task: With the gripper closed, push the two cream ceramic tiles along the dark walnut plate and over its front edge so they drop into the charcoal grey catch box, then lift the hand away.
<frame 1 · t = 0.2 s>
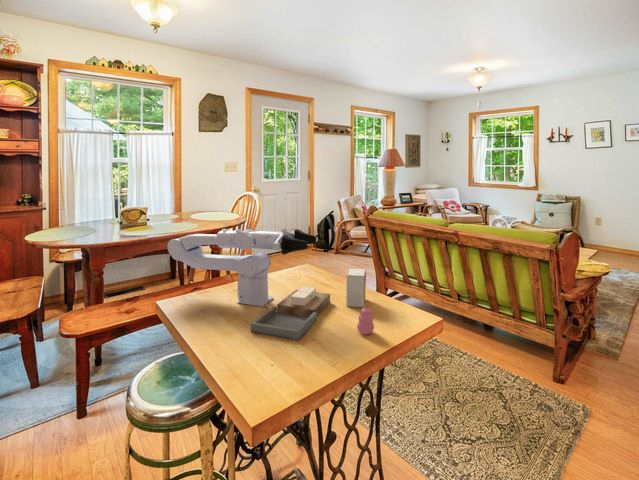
hand: (311, 242, 110), 21 cm above the table, tool horizontal, fingers open, 7 cm apart
front tile: (300, 302, 111), point 3 cm above the table, touching walnut plate
catch box: (285, 326, 102), on the table
small box: (356, 303, 119), on the table
walnut plate: (304, 308, 115), on the table
rear tile: (306, 297, 116), point 3 cm above the table, touching walnut plate
dog chew toy: (365, 333, 98), on the table
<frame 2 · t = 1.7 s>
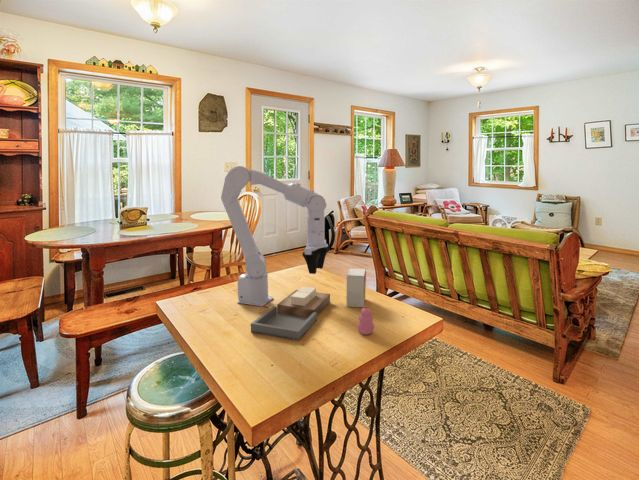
hand: (316, 270, 122), 9 cm above the table, tool pointing down, fingers open, 6 cm apart
nothing on the table moved.
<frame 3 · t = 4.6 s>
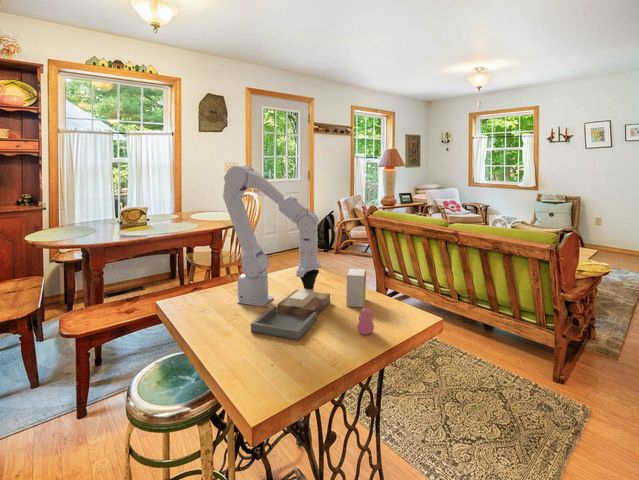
hand: (308, 292, 117), 4 cm above the table, tool pointing down, fingers closed
front tile: (299, 303, 110), point 3 cm above the table, touching rear tile
rear tile: (305, 298, 114), point 3 cm above the table, touching front tile, gripper
everything else where it was.
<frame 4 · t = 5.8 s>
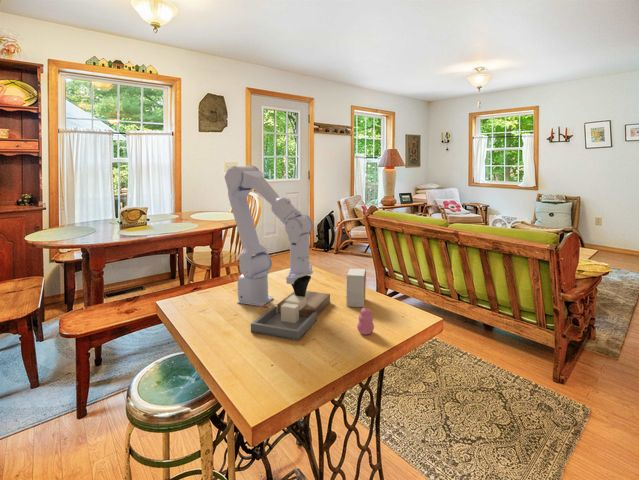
hand: (300, 299, 111), 4 cm above the table, tool pointing down, fingers closed
front tile: (291, 311, 105), point 3 cm above the table, tilted 90°, touching catch box
rear tile: (296, 306, 108), point 3 cm above the table, touching gripper
everything else where it was.
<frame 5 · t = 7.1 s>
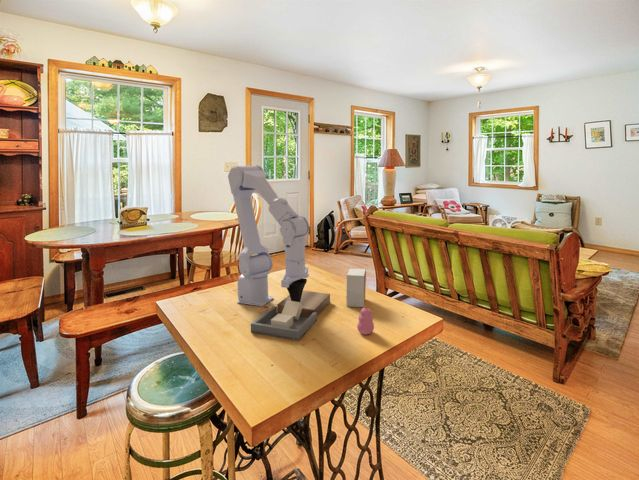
hand: (295, 303, 108), 4 cm above the table, tool pointing down, fingers closed
front tile: (282, 317, 100), point 3 cm above the table, tilted 180°, touching catch box
rear tile: (293, 312, 107), point 2 cm above the table, tilted 40°, touching catch box, gripper
everything else where it was.
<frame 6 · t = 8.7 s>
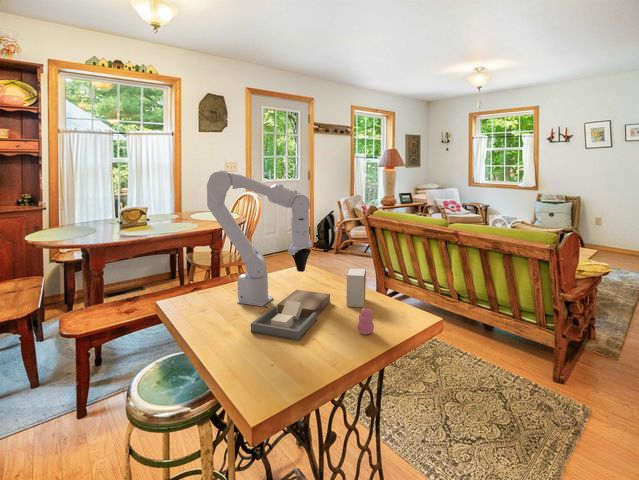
hand: (300, 271, 122), 9 cm above the table, tool pointing down, fingers closed
rear tile: (293, 312, 107), point 2 cm above the table, tilted 39°, touching catch box, walnut plate
everything else where it was.
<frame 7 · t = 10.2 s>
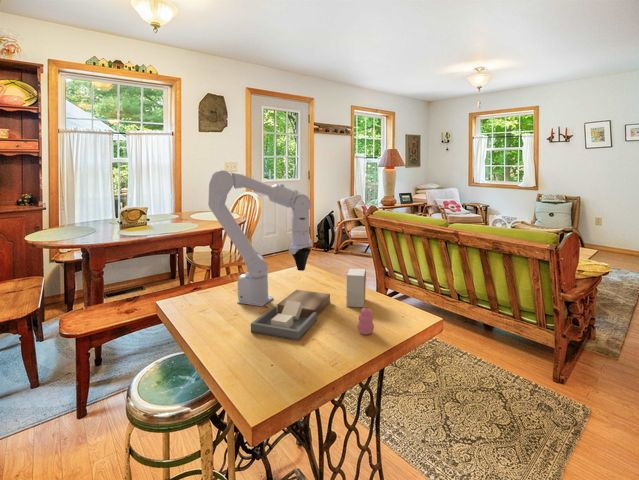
hand: (301, 270, 123), 9 cm above the table, tool pointing down, fingers closed
nothing on the table moved.
at the end: front tile inside the target area on the catch box (1.6 cm from its centre), point 3.0 cm above the catch box's base; rear tile inside the target area on the catch box (5.3 cm from its centre), point 1.9 cm above the catch box's base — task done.
